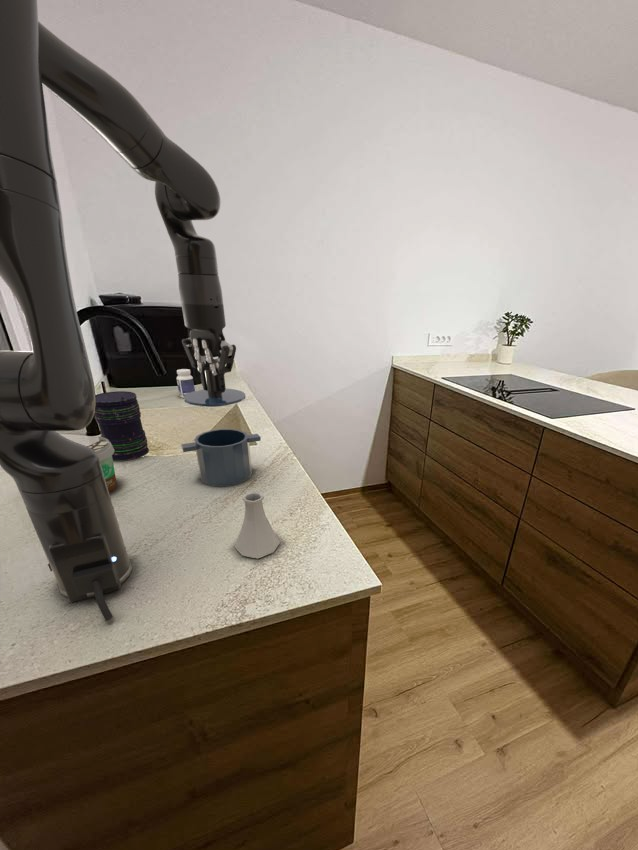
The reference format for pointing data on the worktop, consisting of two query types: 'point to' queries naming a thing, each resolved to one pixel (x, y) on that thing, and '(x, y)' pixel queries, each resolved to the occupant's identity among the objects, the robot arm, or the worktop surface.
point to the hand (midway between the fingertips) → (214, 390)
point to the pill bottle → (185, 382)
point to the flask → (256, 529)
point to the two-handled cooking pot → (223, 456)
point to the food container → (106, 461)
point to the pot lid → (213, 395)
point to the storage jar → (121, 424)
